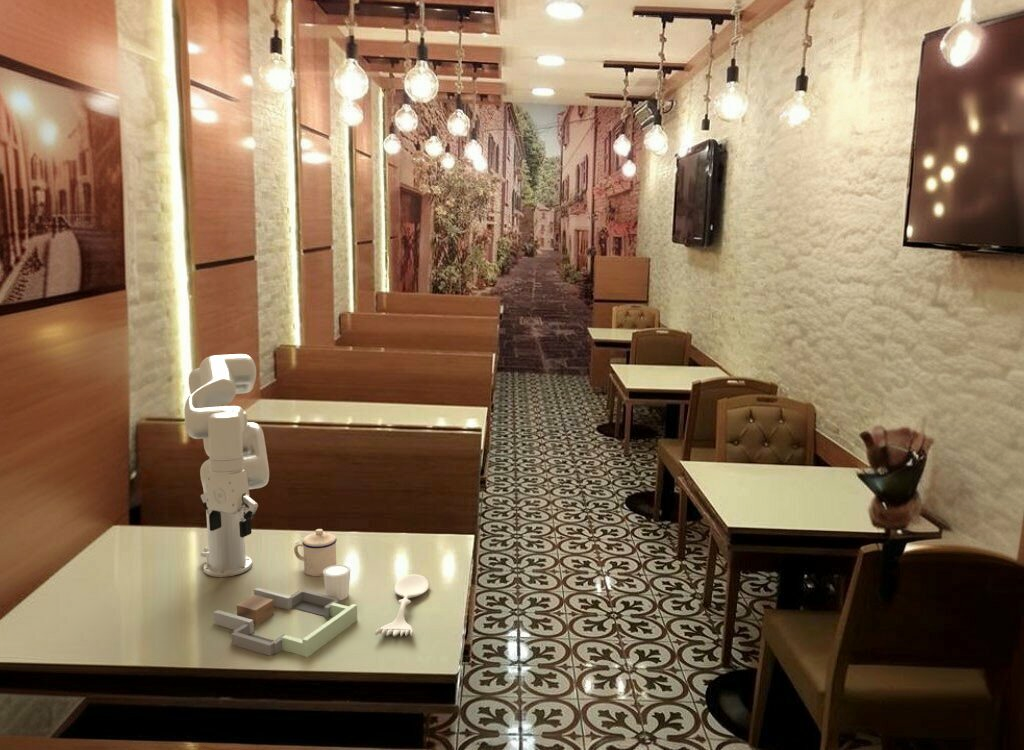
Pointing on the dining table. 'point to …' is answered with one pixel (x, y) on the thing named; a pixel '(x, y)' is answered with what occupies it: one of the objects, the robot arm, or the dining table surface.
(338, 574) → the shot glass
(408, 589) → the spoon
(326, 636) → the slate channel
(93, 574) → the dining table surface
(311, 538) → the teacup with lid
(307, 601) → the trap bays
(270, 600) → the walnut block
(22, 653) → the dining table surface
